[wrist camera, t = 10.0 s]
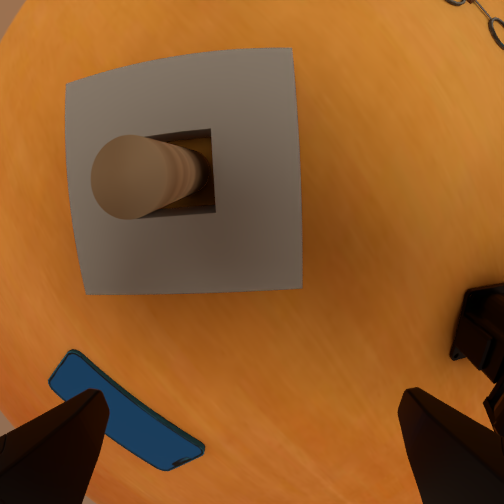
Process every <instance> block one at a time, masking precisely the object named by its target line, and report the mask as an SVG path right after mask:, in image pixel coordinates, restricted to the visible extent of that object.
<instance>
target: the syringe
mask: <svg viewBox="0 0 504 504" xmlns="http://www.w3.org/2000/svg"><path fill="white" fill-rule="evenodd" d="M446 1H447V2H449V3H451V4H453V5H457V6H460V5H462V4H464V3H465V1H466V0H462V1H461V2H456V1H454V0H446ZM467 1H468V2H469V3H470V4H471V3H473V2H474V1H475V2H476V3H477V4H478V5H479V6H480V8H481V9H482V10H483V11H484V12H485V13H486V15H487V16H488V17H489V18H490V21H489V29H490V31H491V33H492V36H493V37H494V39H495V40H496V42H497V44H498V45H499V46H500V47H502V48H503V49H504V44H503V43H502V42H501V41H500V40H499V38H498V36H497V35H496V33H495V30H494V28H493V21H494V20H495V21H498V22H499V23H500V24H502V25H503V26H504V22H503V21H502V20H501V19H499V18H496V17H495V18H491V17H490V16H489V14H488V13H487V12H486V11H485V10H484V9H483V7H482V6H481V5H480V4H479V3H478V2H477V0H467Z"/></svg>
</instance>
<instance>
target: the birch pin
mask: <svg viewBox="0 0 504 504" xmlns="http://www.w3.org/2000/svg"><path fill="white" fill-rule="evenodd" d="M209 175H210V167H209V164H208V161H207V160H206V158H205V157H204V156H203V155H202V154H201V153H199V152H197V151H194V150H191V149H187V148H184V147H180V146H176V145H173V144H169V143H165V142H162V141H158V140H154V139H150V138H146V137H142V136H138V135H123V136H119V137H117V138H114V139H112V140H111V141H109V142H108V143H107V144H105V145H104V146H103V147H102V149H101V150H100V151H99V153H98V154H97V156H96V158H95V160H94V162H93V166H92V170H91V188H92V192H93V195H94V197H95V199H96V201H97V203H98V204H99V206H100V207H101V208H102V209H103V210H104V211H105V212H106V213H108V214H109V215H111V216H113V217H115V218H118V219H123V220H132V219H137V218H140V217H142V216H144V215H146V214H149V213H151V212H153V211H155V210H157V209H159V208H161V207H164V206H166V205H168V204H170V203H172V202H175V201H177V200H179V199H181V198H184V197H186V196H188V195H190V194H193V193H195V192H197V191H199V190H201V189H202V188H203V187H204V186H205V185H206V183H207V181H208V179H209Z"/></svg>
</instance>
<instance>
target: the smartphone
mask: <svg viewBox="0 0 504 504" xmlns="http://www.w3.org/2000/svg"><path fill="white" fill-rule="evenodd" d="M48 384H49V386H50V388H51V389H52V390H53V391H54V392H55V393H56V394H57V395H58V396H59V397H60V398H61V399H63V400H64V401H67V400H69V399H71V398H73V397H74V396H76V395H78V394H80V393H81V392H83V391H85V390H87V389H89V388H93V389H98V390H101V391H102V392H103V394H104V397H105V399H106V402H107V404H108V407H109V410H110V416H109V420H108V423H107V427H106V431H105V434H106V435H107V436H108V437H110V438H111V439H112V440H114V441H115V442H117V443H118V444H119V445H121V446H122V447H124V448H125V449H127V450H128V451H130V452H131V453H133V454H134V455H136V456H137V457H139V458H141V459H142V460H144V461H145V462H147V463H149V464H150V465H152V466H154V467H155V468H157V469H159V470H162V471H170V470H173V469H175V468H177V467H179V466H181V465H184V464H186V463H188V462H190V461H192V460H194V459H196V458H198V457H200V456H202V455H203V454H204V451H205V446H204V444H203V443H202V442H200V441H198V440H197V439H195V438H194V437H192V436H191V435H189V434H187V433H186V432H184V431H183V430H181V429H180V428H178V427H177V426H175V425H173V424H172V423H170V422H169V421H167V420H166V419H164V418H163V417H162V416H160V415H159V414H157V413H156V412H154V411H153V410H152V409H150V408H149V407H147V406H146V405H145V404H143V403H142V402H141V401H139V400H138V399H136V398H135V397H134V396H133V395H131V394H130V393H129V392H127V391H126V390H125V389H123V388H122V387H121V386H120V385H118V384H117V383H116V382H115V381H114V380H112V379H111V378H110V377H109V376H108V375H106V374H105V373H104V372H103V371H102V370H100V369H99V368H98V367H97V366H96V365H95V364H94V363H92V362H91V361H90V360H89V359H88V358H87V357H86V356H85V355H84V354H82V353H81V352H80V351H78V350H74V349H72V350H70V351H69V352H68V353H67V354H66V355H65V357H64V358H63V359H62V361H61V362H60V364H59V365H58V366H57V368H56V369H55V371H54V372H53V374H52V375H51V376H50V378H49V379H48Z"/></svg>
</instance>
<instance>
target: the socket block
mask: <svg viewBox="0 0 504 504" xmlns="http://www.w3.org/2000/svg"><path fill="white" fill-rule="evenodd" d="M123 135H138V136H142V137H146V138H150V139H154V140H158V141H162V142H168V141H176V140H184V139H193V138H203V137H211V140H212V157H213V174H214V189H215V204H216V205H205V206H191V207H179V208H167V209H157V210H155V211H153V212H151V213H149V214H146V215H144V216H142V217H140V218H137V219H132V220H123V219H118V218H115V217H113V216H111V215H109V214H108V213H106V212H105V211H104V210H103V209H102V208H101V207H100V206H99V204H98V203H97V201H96V199H95V197H94V195H93V192H92V188H91V170H92V166H93V162H94V160H95V158H96V156H97V154H98V153H99V151H100V150H101V149H102V147H103V146H104V145H105V144H107V143H108V142H109V141H111V140H112V139H114V138H117V137H119V136H123ZM65 144H66V165H67V179H68V190H69V199H70V208H71V216H72V223H73V230H74V236H75V242H76V248H77V253H78V259H79V264H80V269H81V274H82V278H83V283H84V287H85V291H86V295H139V294H190V293H221V292H245V291H266V290H284V289H301V288H302V203H301V173H300V151H299V132H298V116H297V101H296V88H295V76H294V64H293V53H292V48H250V49H233V50H221V51H211V52H202V53H194V54H187V55H180V56H174V57H168V58H162V59H157V60H152V61H147V62H142V63H138V64H133V65H129V66H125V67H121V68H117V69H113V70H110V71H106V72H102V73H99V74H95V75H92V76H89V77H86V78H83V79H80V80H76V81H74V82H71V83H68V84H66V99H65Z"/></svg>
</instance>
